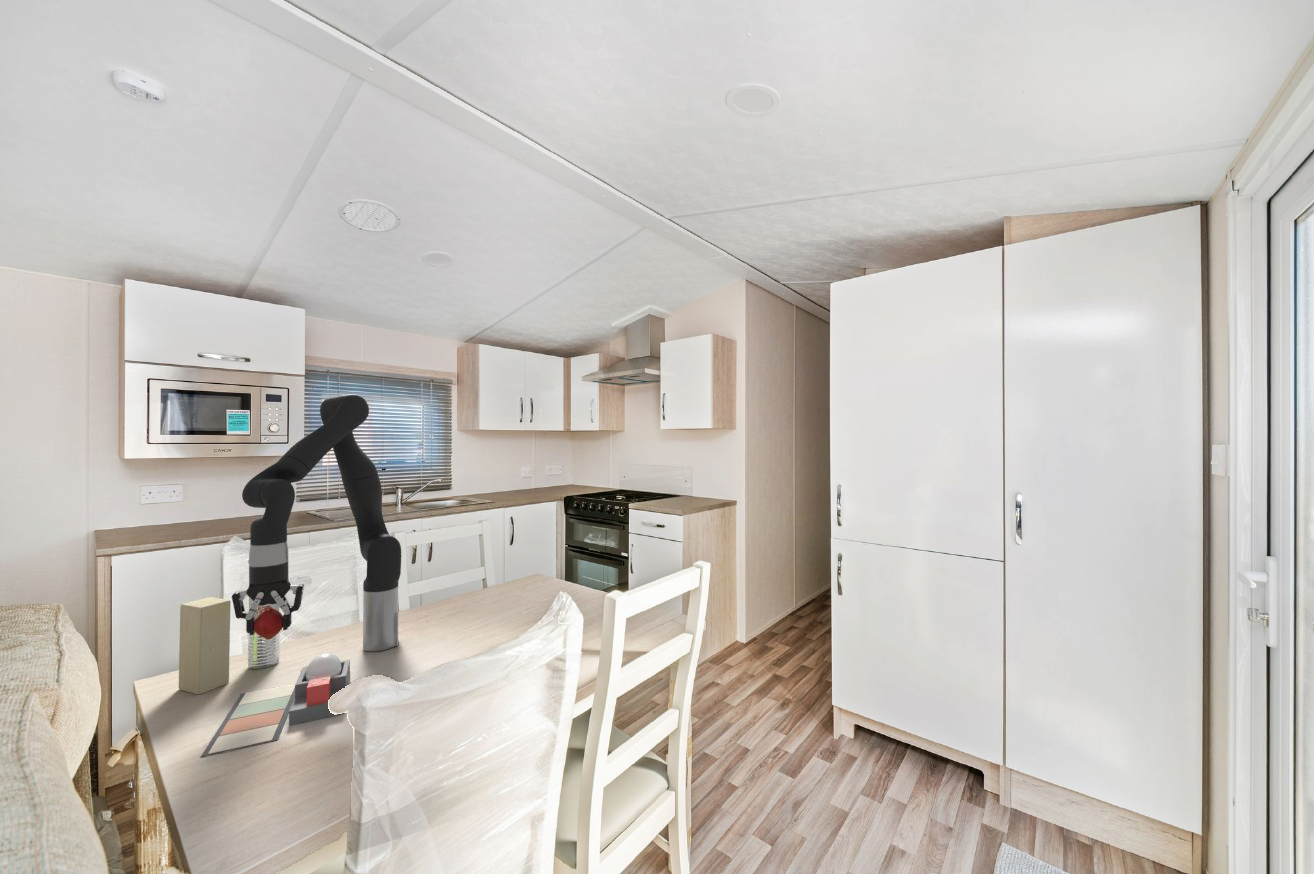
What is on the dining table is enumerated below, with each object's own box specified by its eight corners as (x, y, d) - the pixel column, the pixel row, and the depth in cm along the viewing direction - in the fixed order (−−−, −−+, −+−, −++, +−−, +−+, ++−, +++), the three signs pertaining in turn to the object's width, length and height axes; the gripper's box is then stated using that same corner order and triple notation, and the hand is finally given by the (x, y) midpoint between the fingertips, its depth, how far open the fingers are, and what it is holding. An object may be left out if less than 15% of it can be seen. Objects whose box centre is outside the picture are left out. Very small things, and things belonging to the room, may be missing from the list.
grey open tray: (350, 683, 126) (350, 659, 126) (343, 713, 112) (343, 686, 112) (302, 692, 122) (302, 667, 122) (288, 725, 108) (289, 697, 108)
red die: (330, 693, 115) (330, 675, 115) (328, 701, 112) (328, 683, 112) (309, 697, 113) (309, 679, 114) (306, 705, 110) (306, 687, 110)
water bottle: (285, 659, 140) (286, 570, 140) (264, 670, 133) (265, 576, 133) (263, 658, 141) (264, 569, 141) (241, 669, 134) (241, 576, 134)
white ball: (342, 674, 124) (342, 646, 125) (339, 686, 118) (339, 657, 118) (308, 680, 121) (308, 651, 121) (303, 693, 115) (303, 663, 115)
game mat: (301, 683, 126) (301, 682, 126) (277, 740, 102) (277, 738, 102) (240, 694, 121) (241, 692, 121) (200, 756, 97) (200, 755, 97)
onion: (265, 634, 123) (265, 602, 123) (289, 633, 124) (289, 601, 124) (247, 644, 117) (247, 610, 117) (274, 643, 118) (273, 609, 118)
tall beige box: (233, 681, 127) (233, 598, 128) (199, 695, 121) (199, 607, 121) (212, 676, 130) (213, 595, 130) (178, 689, 123) (178, 604, 123)
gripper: (307, 555, 127) (307, 621, 127) (235, 561, 121) (235, 631, 121) (302, 561, 121) (302, 631, 120) (225, 568, 114) (226, 642, 114)
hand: (269, 631), depth 121 cm, fingers closed on onion, 5 cm apart
